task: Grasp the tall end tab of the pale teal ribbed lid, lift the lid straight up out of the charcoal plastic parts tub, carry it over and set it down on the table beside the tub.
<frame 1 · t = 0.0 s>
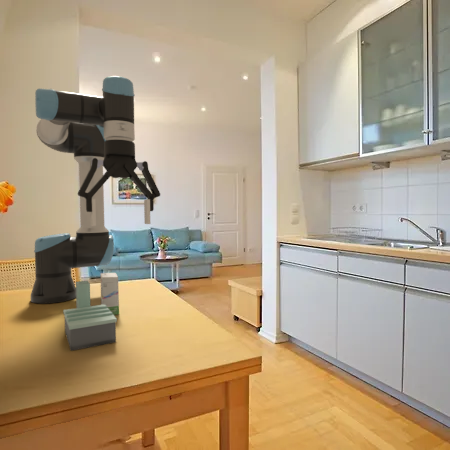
hand: (121, 224, 89), 28 cm above the table, fingers open, 13 cm apart
lid: (87, 303, 89), point 8 cm above the table, touching tub
ink box: (110, 312, 109), on the table
tub: (89, 336, 87), on the table
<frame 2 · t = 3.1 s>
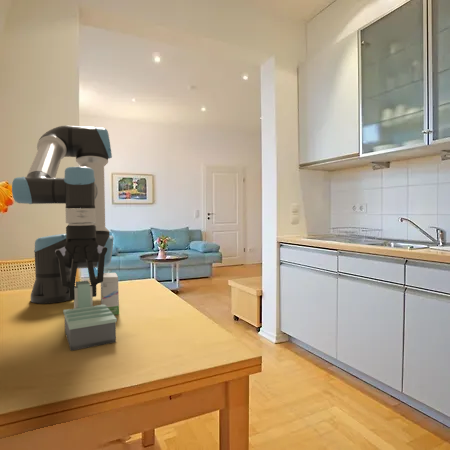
hand: (83, 309, 96), 5 cm above the table, fingers closed on lid, 3 cm apart
lid: (87, 303, 89), in the tub, point 8 cm above the table, touching gripper
everything else where it was.
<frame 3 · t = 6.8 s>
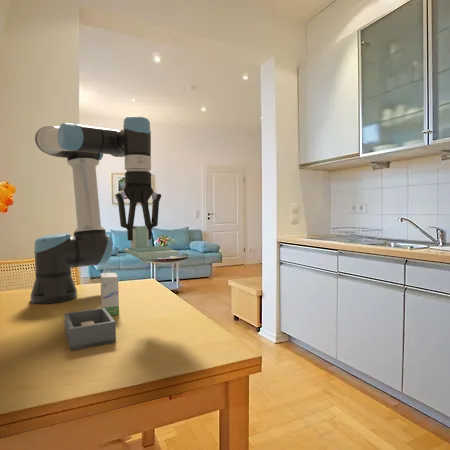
hand: (139, 251, 103), 20 cm above the table, fingers closed on lid, 3 cm apart
lid: (147, 241, 96), point 23 cm above the table, touching gripper
everything else where it was.
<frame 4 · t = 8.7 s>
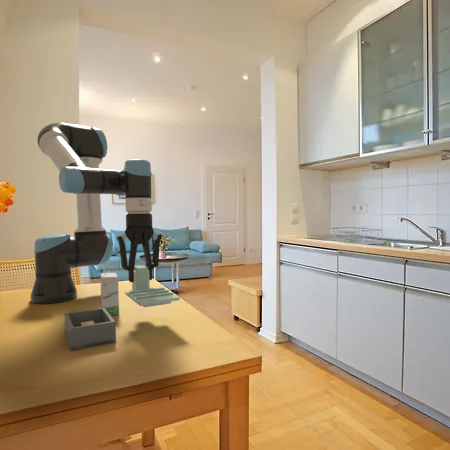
hand: (141, 291, 103), 7 cm above the table, fingers closed on lid, 3 cm apart
lid: (148, 284, 97), point 11 cm above the table, touching gripper
everything else where it was.
when the fingers open (2 cm above the table, at t = 10.4 s): lid drops 1 cm, on the table.
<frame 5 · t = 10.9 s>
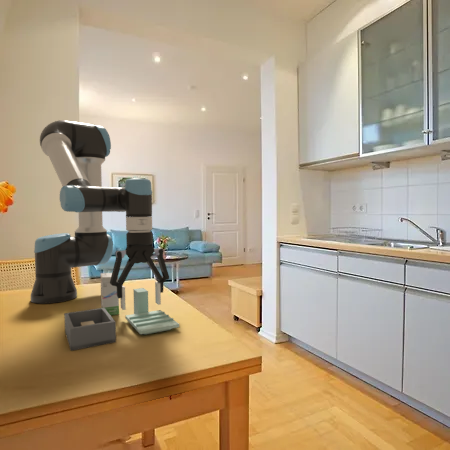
hand: (141, 306, 104), 3 cm above the table, fingers open, 10 cm apart
lid: (148, 309, 97), on the table
everything else where it was.
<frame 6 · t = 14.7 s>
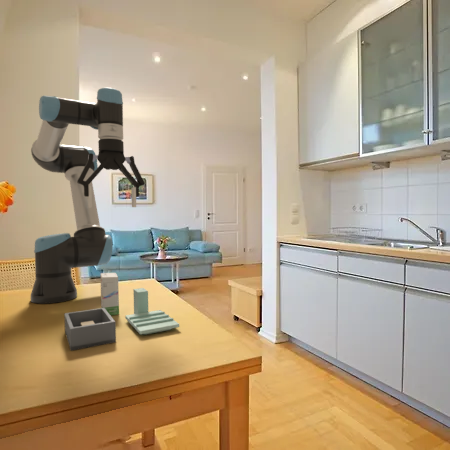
hand: (112, 207, 111), 33 cm above the table, fingers open, 13 cm apart
nothing on the table moved.
at the end: lid inside the target area (0.5 cm from its centre), on the table; lid touching table; the gripper is holding nothing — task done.
